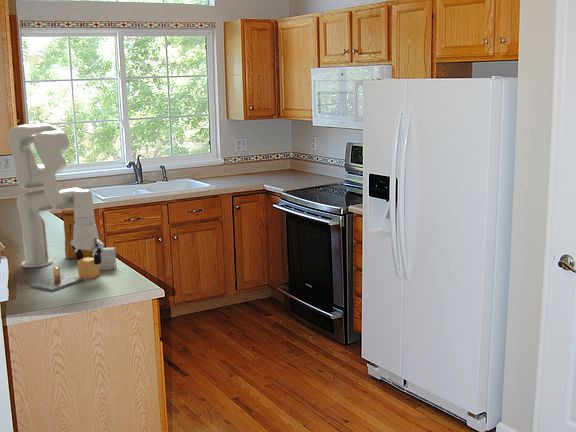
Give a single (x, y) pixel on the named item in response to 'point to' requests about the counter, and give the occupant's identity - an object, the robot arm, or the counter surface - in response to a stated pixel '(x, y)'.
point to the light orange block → (87, 268)
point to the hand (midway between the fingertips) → (89, 262)
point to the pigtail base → (56, 285)
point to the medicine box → (108, 259)
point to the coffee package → (71, 235)
